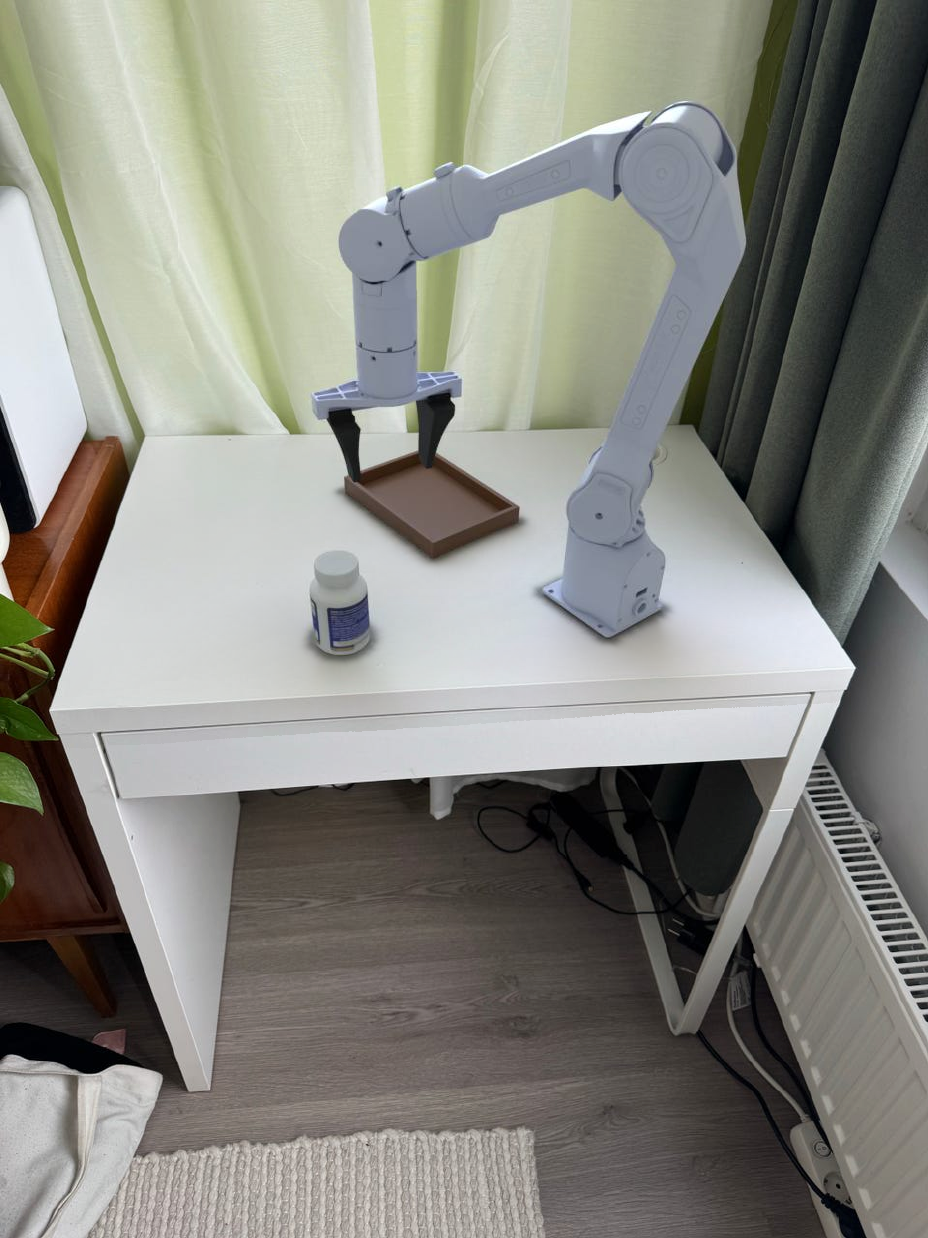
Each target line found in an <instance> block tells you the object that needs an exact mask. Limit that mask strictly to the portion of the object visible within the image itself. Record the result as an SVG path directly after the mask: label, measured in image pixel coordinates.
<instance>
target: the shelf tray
mask: <svg viewBox="0 0 928 1238" xmlns="http://www.w3.org/2000/svg"><path fill="white" fill-rule="evenodd" d="M360 471H361V480H360V482H353V481H352V479H351V478H350V476H349V475H348V474H347V475H345V476H343V480H344V492H345V493H347V494H348V495H349V496H350V497H352V498H353V499H354V500H356V501H357V502H358V503H359V504H360V505H362V506H363V507H365V508H366V509H367V510H369V511H370V512H371V513H372V514H374V515H375V516H376V517H378V518H379V519H380V520H382V521H383V522H384V523H385V524H387V525H389V527H391V528H392V529H394V530H395V531H396V532H397V533H399V534H400V535H401V536H403V537H404V538H405V539H406V540H408V541H409V542H411V543H412V544H413V545H414V546H416V548H417V547H418V549H420V551H422V552H424V553H425V554H426V555H427V556H429V557H430V558H432V559H436V558H437V557H440V556H442V555H444V554H447V553H449V552H451V551H454V550H456V549H458V548H460V547H464V546H465V545H467V544H471V543H472V542H474V541H477V540H479V539H481V538H485V537H486V536H488V535H491V534H493V533H496V532H498V531H500V530H502V529H505V528H507V527H509V526H511V525H514V524H516V523H519V522H520V521H519V520H520V509H521V508H520V506H519V505H518V504H516V503H515V502H513V501H512V500H510V499H509V498H507V497H505V496H504V495H502V494H501V493H499V492H498V491H496V490H495V489H493V488H492V487H490V486H488V485H487V484H485V483H484V482H482V480H480V479H478V478H476V477H474V476H473V475H472V474H470V473H469V472H468V471H465V470H464V469H462V468H461V467H459V466H457V465H456V464H455V463H453V462H451V461H450V460H448V459H447V458H445V457H444V456H442V455H441V454H439V453H438V452H436V454H435V458H434V462H433V466H432V468H429V469H426V468H425V467H424V465H423V464H422V463H421V462H420V460H419V453H418V450H415V451H412V452H409V453H406V454H404V455H401V456H398V457H396V458H392V459H390V460H387V461H384V462H382V463H378V464H376V465H373V466H370V467H367V468H365V469H362V470H361V469H360Z"/></svg>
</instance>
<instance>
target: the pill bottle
mask: <svg viewBox="0 0 928 1238" xmlns="http://www.w3.org/2000/svg"><path fill="white" fill-rule="evenodd" d="M313 574H314V578H313V579H312V581H311V583H310V585H309V600H310V609H311V617H312V626H313V627H312V629H313V635H314V636H313V637H314V642H315V644H316V646H317V647H318V648H319V649H320V650H322V651H323V652H325V653H327V654H330V655H335V656H344V655H345V656H346V655H351V654H355V653H358V652H359V651H361V650H363V649H364V648H365V647H366V646H367V645H368V643H369V641H370V638H371V623H370V608H369V606H370V605H369V591H368V583H367V581H366V579H365V578H364V577H363V575H361V574H360V563H359V559H358V556H356V555H355V554H354V553H352V552H350V551H348V550H342V549H334V550H328V551H325V552H323V553H321V554H319V555H318V556H317V557H316V558H315V559H314V562H313Z"/></svg>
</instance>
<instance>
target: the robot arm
mask: <svg viewBox="0 0 928 1238" xmlns="http://www.w3.org/2000/svg"><path fill="white" fill-rule="evenodd" d="M651 114H653V110H650V111H643V112H639V113H636V114H632V115H629V116H626V117H623V118H622V117H621V118H619V119H616V120H613V121H610V122H607V123H604V124H600V125H598V126H595V127H593V128H590V129H588V130H586V131H583V132H582V133H579V134H577V135H575V136H572V137H570V138H567V139H566V140H563V141H561V142H559V143H557V144H554V145H552V146H550V147H548V148H546V149H543V150H541V151H539V152H536V153H534V154H532V155H529V156H528V157H527V156H526V157H525V158H523V159H521V160H518V161H516V162H514V163H511V164H509V165H507V166H505V167H503V168H501V169H498V170H495V171H493V172H492V173H487V172H485V171H482V170H481V169H479V168H477V167H475V166H472V165H470V164H464V165H461V166H459V167H457V168H456V167H455V163H454V162H453V161H450V162H447V163H445V164H442V165H440V166H438V167H437V168H435V169H433V175H434V177H432V178H430V179H428V180H425V181H422V182H419V183H418V184H415V185H413V186H411V187H408V188H405V189H403V188H402V186H401V185H397V186H394V187H393V188H391V189H389V190H387V191H386V193H385V196H382V197H380V198H378V199H376V200H374V201H372V202H370V203H369V204H368V205H366V206H364V207H363V208H360V209H357V211H356V212H354V213H353V214H352V215H350V216H349V217H348V218H347V219H346V220H345V221H344V222H343V224H342V226H341V228H340V230H339V232H338V233H339V235H338V250H339V253H340V256H341V259H342V261H343V262H344V265H345V266H346V267H347V269H348V270H349V271H350V272H351V284H352V304H353V322H354V323H353V324H354V326H353V327H354V339H355V340H354V341H355V358H356V362H355V363H356V379H354V380H350V381H347V382H344V383H342V384H338V385H335V386H333V387H330V388H326V389H323V390H319V391H314V392H311V393H310V397H311V407H312V413H313V414H314V416H315V418H316V419H317V420H318V421H322V420H326V421H327V423H328V425H329V427H330V428H331V430H332V433H333V434H334V437H335V438H336V441H337V443H338V445H339V448H340V451H341V453H342V456H343V459H344V463H345V467H346V471H347V475H349V476H350V478H351V479H352V481H353V482H360V480H361V464H360V463H361V461H360V438H361V432H362V431H361V430H362V428H361V427H360V426H359V424H358V422H356V416H355V415H354V414H353V412H356V411H362V410H363V411H364V410H368V409H375V408H394V407H395V408H397V407H402V406H406V405H409V404H410V403H414V402H415V405H416V413H417V414H416V415H417V425H418V440H417V443H418V444H417V451H418V453H419V460H420V462H421V463H422V464H423V465H424V467H425V468H426V469H429V468H432V466H433V462H434V458H435V454H436V453H437V450H438V447H439V445H440V443H441V439H442V437H443V435H444V433H445V431H446V429H447V427H448V426H449V424H450V423H451V422H452V419H454V417H455V415H456V404H455V403H454V402H453V401H452V399H455V398H456V399H457V398H461V397H462V393H463V392H462V390H463V389H462V388H463V379H462V377H461V376H460V375H459V374H458V373H457V372H456V371H455V370H450V371H435V372H434V371H419V370H418V369H419V366H418V365H419V363H418V361H419V360H418V359H419V357H418V356H419V355H418V351H419V349H418V289H417V287H418V286H417V285H418V284H417V283H418V282H417V281H418V280H417V279H418V278H417V262H424V261H428V260H430V259H434V258H436V257H439V256H442V255H445V254H447V253H450V252H452V251H453V252H454V251H455V250H458V249H461V248H465V247H466V246H469V245H472V244H474V243H475V244H476V243H478V242H480V241H483V240H486V239H488V238H489V237H491V235H492V234H493V232H494V230H495V228H496V226H497V222H498V220H499V218H500V216H503V215H506V214H508V213H511V212H514V211H518V210H520V209H523V208H527V207H529V206H532V205H536V204H538V203H542V202H545V201H548V200H550V199H551V200H552V199H554V198H557V197H560V196H564V195H566V194H569V193H572V192H575V191H578V190H582V189H586V190H588V191H590V192H592V193H595V194H596V195H598V196H600V197H602V198H604V199H605V200H607V201H609V202H614V201H616V199H617V198H618V197H619V196H620V195H621V194H622V195H623V197H624V199H625V201H626V202H627V204H628V205H629V206H630V207H631V209H633V210H634V212H635V213H636V214H637V215H639V216H640V217H641V218H642V219H643V220H644V221H645V222H646V223H647V224H648V225H650V226H651V227H652V228H653V229H654V230H655V231H656V232H657V233H658V234H659V236H660V237H661V238H662V240H663V242H664V244H665V246H666V248H667V250H668V252H669V253H670V255H671V257H672V259H673V261H674V263H675V266H674V269H673V271H672V274H671V277H670V280H669V281H668V284H667V286H666V289H665V291H664V294H663V296H662V299H661V300H660V304H659V306H658V309H657V311H656V314H655V316H654V318H653V321H652V323H651V326H650V329H649V331H648V333H647V336H646V338H645V341H644V343H643V345H642V348H641V350H640V353H639V355H638V357H637V361H636V363H635V366H634V367H633V370H632V373H631V375H630V378H629V381H628V383H627V385H626V388H625V390H624V392H623V394H622V397H621V400H620V402H619V405H618V408H617V410H616V412H615V415H614V418H613V420H612V422H611V425H610V427H609V430H608V432H607V435H606V437H605V439H604V441H603V443H602V444H600V445H599V446H598V447H596V449H595V450H594V451H593V452H592V455H591V457H590V458H589V460H588V466H586V468H585V471H584V473H583V475H582V477H581V479H580V480H579V482H578V484H577V486H576V488H575V489H573V491H572V492H571V493H570V495H569V496H568V499H567V502H566V506H565V515H566V518H567V521H568V525H567V534H566V541H565V542H566V543H565V551H564V561H563V570H562V578H559V579H557V580H556V581H554V582H552V583H549V584H547V585H545V586H543V587H542V593H543V594H544V595H545V596H547V597H548V598H549V599H550V600H552V601H553V602H555V603H556V604H558V605H560V607H562V608H563V609H565V610H567V611H568V612H569V613H571V614H572V615H573V616H575V617H576V618H578V619H579V620H580V621H582V622H583V623H585V624H586V625H587V626H588V627H590V628H591V629H593V630H594V631H595V632H597V633H599V634H600V635H602V636H603V637H604V638H608V639H609V638H612V637H614V636H615V635H617V634H619V633H621V632H623V631H624V630H627V629H628V628H630V627H632V626H633V625H635V624H637V623H639V622H641V621H643V620H645V619H646V618H648V617H650V616H652V615H653V614H656V613H658V612H659V611H661V610H662V608H663V604H662V603H661V602H659V600H660V594H661V591H662V590H661V589H662V585H663V580H664V574H665V568H666V564H667V563H666V562H667V561H666V555H665V553H664V551H663V550H662V549H661V548H659V547H658V545H656V544H655V543H654V541H652V539H651V538H650V535H648V532H647V531H646V518H645V515H644V511H643V509H642V503H643V501H644V498H645V496H646V494H647V492H648V490H649V488H650V487H651V484H652V483H653V481H654V473H655V470H654V455H655V452H656V450H657V448H658V445H659V443H660V441H661V440H662V437H663V435H664V432H665V431H666V428H667V425H668V424H669V421H670V419H671V417H672V414H673V412H674V410H675V408H676V406H677V403H678V401H679V399H680V397H681V395H682V392H683V390H684V388H685V386H686V384H687V381H688V379H689V377H690V374H691V372H692V370H693V368H694V366H695V364H696V361H697V359H698V357H699V355H700V352H701V350H702V348H703V346H704V344H705V341H706V339H707V337H708V335H709V333H710V330H711V329H712V326H713V325H714V322H715V320H716V317H717V315H718V313H719V311H720V308H721V307H722V304H723V301H724V299H725V297H726V295H727V293H728V291H729V288H730V286H731V283H732V282H733V279H734V277H735V275H736V273H737V271H738V269H739V266H740V264H741V262H742V259H743V257H744V255H745V251H746V245H747V237H746V229H745V222H744V215H743V214H744V213H743V208H742V200H741V193H740V186H739V179H738V157H737V156H738V155H737V153H738V152H737V148H736V147H735V145H734V143H733V140H731V137H730V136H729V133H728V132H727V130H726V128H725V126H724V125H723V123H722V121H721V120H720V118H719V116H718V115H717V114H716V112H715V111H714V110H712V109H711V108H710V107H708V106H707V105H705V104H704V103H700V102H697V101H691V100H684V101H679V102H678V101H677V102H674V103H673V104H670V105H668V106H666V107H664V108H663V109H662V110H660V111H659V112H658V113H657V114H656V115H655V116H654V117H653V118H652V120H651V121H650V123H649V125H647V126H646V125H644V124H645V122H646V121H647V119H648V118H649V117H650V116H651Z"/></svg>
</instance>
